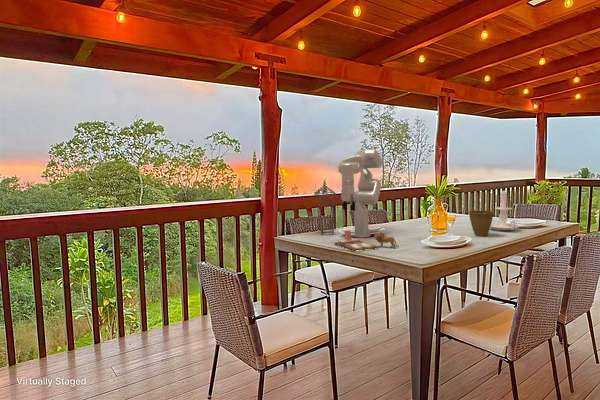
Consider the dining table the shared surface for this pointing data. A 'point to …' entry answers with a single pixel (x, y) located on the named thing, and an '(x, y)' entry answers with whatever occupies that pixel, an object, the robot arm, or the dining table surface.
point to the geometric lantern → (325, 205)
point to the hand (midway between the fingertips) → (348, 209)
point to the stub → (347, 237)
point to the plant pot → (481, 222)
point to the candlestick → (504, 216)
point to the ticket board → (356, 245)
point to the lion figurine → (384, 239)
